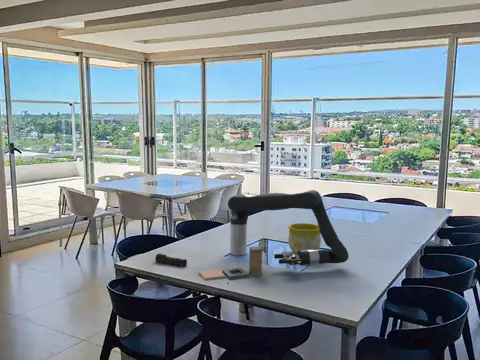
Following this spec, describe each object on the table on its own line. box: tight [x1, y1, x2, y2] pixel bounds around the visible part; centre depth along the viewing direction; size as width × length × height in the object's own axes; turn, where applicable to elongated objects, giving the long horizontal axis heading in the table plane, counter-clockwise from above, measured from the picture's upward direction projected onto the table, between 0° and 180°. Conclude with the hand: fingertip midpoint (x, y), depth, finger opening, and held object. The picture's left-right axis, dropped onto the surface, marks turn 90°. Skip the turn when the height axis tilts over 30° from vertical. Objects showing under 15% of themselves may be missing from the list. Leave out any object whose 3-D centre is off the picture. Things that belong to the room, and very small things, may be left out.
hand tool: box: [155, 253, 188, 268], centre depth 235 cm, size 19×4×5 cm, turn 60°
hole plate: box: [221, 267, 250, 280], centre depth 219 cm, size 10×10×2 cm
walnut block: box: [248, 245, 263, 277], centre depth 220 cm, size 5×5×13 cm
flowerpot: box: [287, 222, 322, 254], centre depth 252 cm, size 18×18×16 cm
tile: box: [198, 268, 226, 281], centre depth 218 cm, size 10×10×1 cm
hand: (276, 258), depth 222 cm, fingers open, 8 cm apart
